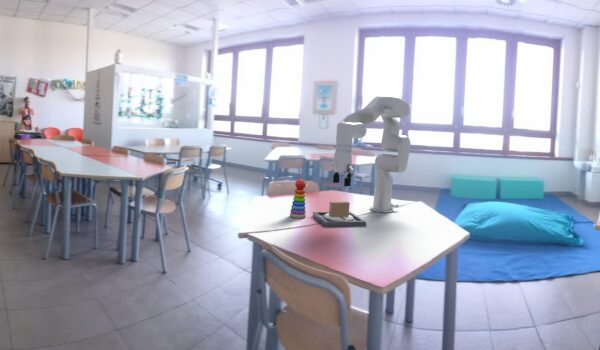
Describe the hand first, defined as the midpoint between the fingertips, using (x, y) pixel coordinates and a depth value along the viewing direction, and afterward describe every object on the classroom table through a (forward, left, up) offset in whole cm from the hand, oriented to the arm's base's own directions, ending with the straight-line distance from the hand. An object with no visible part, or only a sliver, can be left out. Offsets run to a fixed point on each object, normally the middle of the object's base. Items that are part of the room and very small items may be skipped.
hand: (341, 184), depth 189 cm
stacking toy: (+18, -9, -18) cm, 27 cm away
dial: (0, 0, -16) cm, 17 cm away
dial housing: (0, 0, -18) cm, 18 cm away
